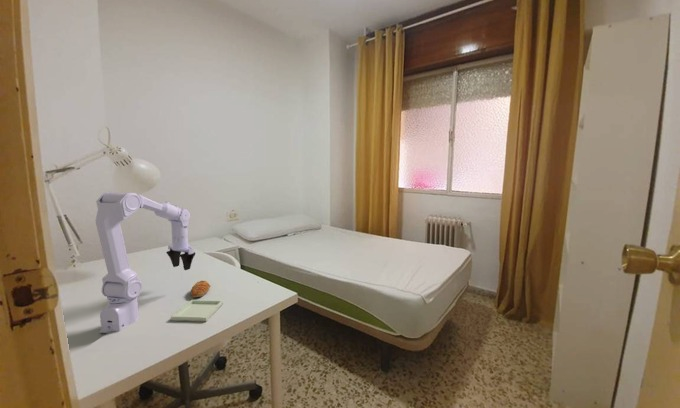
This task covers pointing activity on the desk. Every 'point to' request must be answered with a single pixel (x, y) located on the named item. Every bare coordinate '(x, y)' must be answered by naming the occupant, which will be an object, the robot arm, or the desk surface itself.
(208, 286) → the pastry
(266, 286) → the desk surface
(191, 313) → the tray
